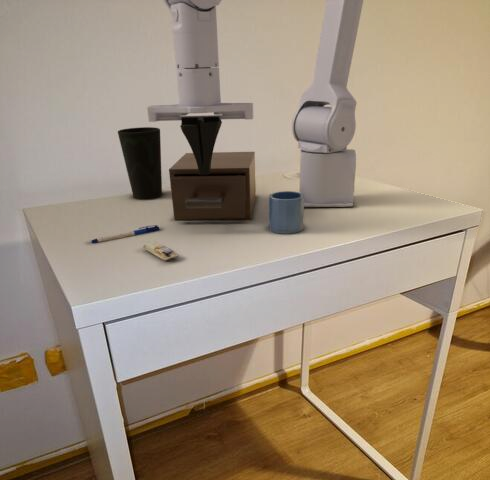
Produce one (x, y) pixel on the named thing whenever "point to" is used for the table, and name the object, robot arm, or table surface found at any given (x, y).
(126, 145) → the cup
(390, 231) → the table surface
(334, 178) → the robot arm
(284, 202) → the small cup
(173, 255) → the granola bar
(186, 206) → the drawer
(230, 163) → the cabinet
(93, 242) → the ballpoint pen
